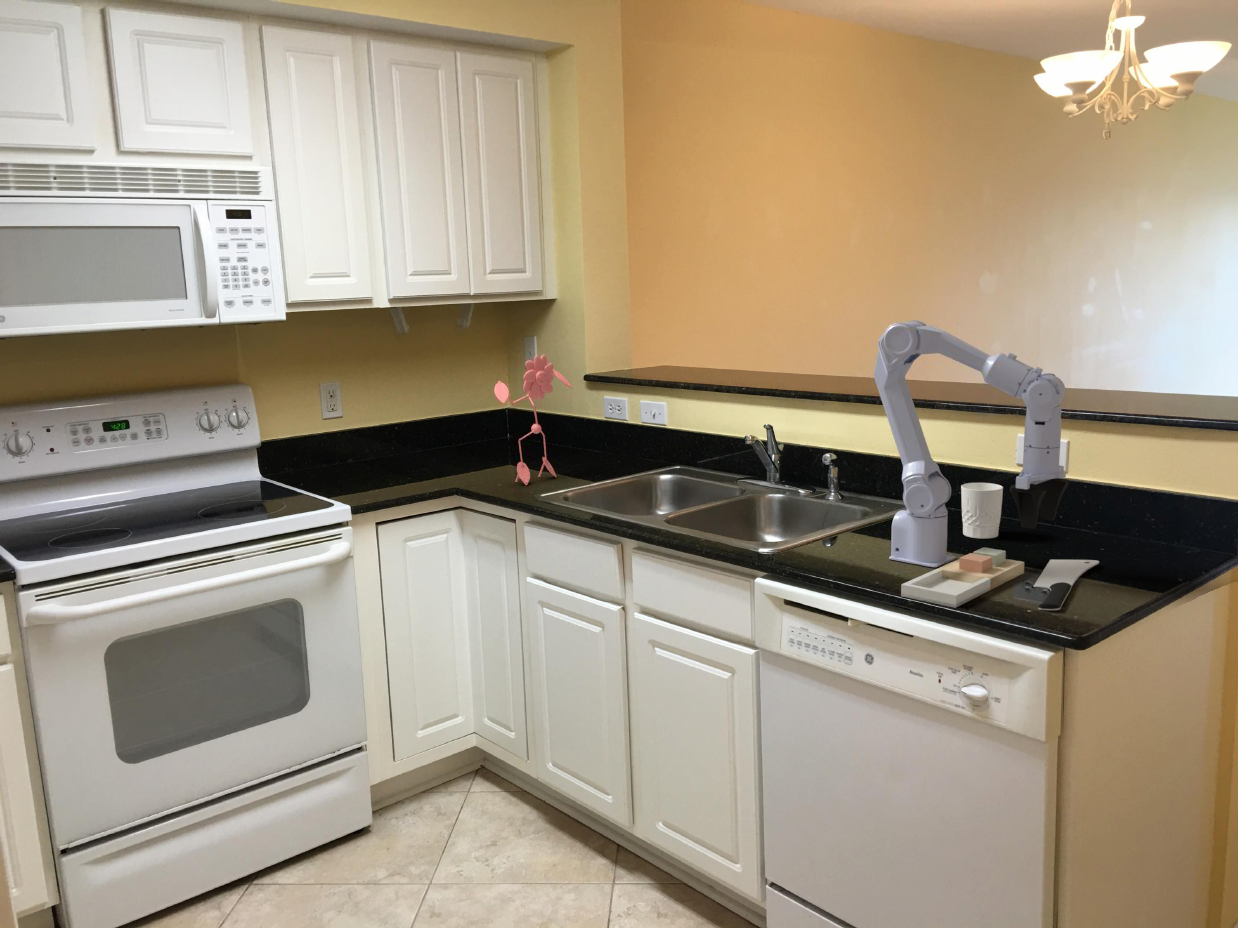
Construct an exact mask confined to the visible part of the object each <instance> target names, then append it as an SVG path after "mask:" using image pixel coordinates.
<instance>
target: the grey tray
mask: <svg viewBox="0 0 1238 928" xmlns="http://www.w3.org/2000/svg"><path fill="white" fill-rule="evenodd" d="M942 577H943V570H942V569H938V568H936V569H933V570H931V571H929V572H926V573H924V574H922V575H919V576H918V577H915V578H913V579H910V580H909V581H906V582H904V583H901V587H900V591H901V593H900V597H904V598H908V599H913V600H917V601H922V602H926V603H932V604H935V605H936V604H937V605H941V606H944V607H951V608H955V609H956V608H957V607H960V606H961V605H964V604H965V603H968V602H970V601H972V600H974V599H976V598H978V597H979V596H982V595H984V594H986V593H987V592H990V591H991V590H990V580H991V579H990V578H983V579H981V580H979V581H976V582H974V583H972V584H970V583H965V582H960V581H955V580H950V579H944V578H942Z"/></svg>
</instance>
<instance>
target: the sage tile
mask: <svg viewBox="0 0 1238 928" xmlns="http://www.w3.org/2000/svg"><path fill="white" fill-rule="evenodd" d="M972 553H973V554H979V555H985V556H990V557H993V563H992V567H996V566H998V565H1000V564H1002V563H1004V562H1005V559H1006V557H1007V554H1006V553H1007V552H1006V550H1002V549H995V548H992V547H991V548H990V547H981V548H979V549H977V550H975V551H973V552H972Z"/></svg>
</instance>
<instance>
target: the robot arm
mask: <svg viewBox="0 0 1238 928" xmlns="http://www.w3.org/2000/svg"><path fill="white" fill-rule="evenodd" d="M877 347H878V349H877V350H878V351H877V356H876V360H875V366H874V369H873V379H874V381H875V385H876V387H877V390H878V394H879V398H880V401H881V402H882V406H883V409H884V412H885V414H886V418H887V422H888V423H889V426H890V430H891V432H892V437H893V439H894V443H895V445H896V446H895V447H896V449H897V452H898V454H899V455H898V456H899V458H900V460H901V464H902V474H901V482H902V484H903V493H902V501H903V505H904V506H905V508H906V510H905V509H901V510H899V511H897V512H895V514H894V516H893V519H892V523H891V541H890V542H891V543H890V545H891V546H890V548H891V549H890V550H891V551H890V552H891V553H890V556H889V558H888V559H889V560H892V561H897V562H903V563H907V564H913V565H918V566H924V567H929V568H930V567H931V568H938V567H941V566H942V565H943V566H944V565H946V564H948V563H950V562H953V561H955V560H957V559H956V558H957V557H956V555H951V554H947V548H948V512H949V511H948V509H947V507H946V503H947V502H948V501H949V500H950V498H951V495H952V487H951V484H950V482H949V480H948V479H947V478H946V477H945V476H944V475H943V474H942V472H941V470H940V467H939V466H940V465H938V463H937V462H935V460H934V459H933V457H932V455H931V452H930V449H929V446H928V444H927V441H926V438H925V437H926V436H925V434H924V431H923V428H922V425H921V422H920V419H919V416H918V414H917V409H916V407H915V403H914V401H913V398H912V395H911V392H910V388H909V385H908V383H907V379H906V375H907V373H908V371H909V370H910V369H911V367H912V366H913V364H914V361H915V362H916V360H917V359H918V358H919V357H920V356H922V355H932V354H934V355H935V354H940V355H941V356H944V357H946V358H949V359H951V360H954V361H955V362H958V363H959V364H963V365H964V366H967V367H968V368H971V369H974V370H976V371H978V372H980V373H981V375H982V377H983V381H984V383H986V384H987V385H989V386H992V387H993V388H996V389H998V390H999V391H1002V392H1004V393H1005V394H1008V395H1010V396H1011V397H1014V398H1016V399H1017V400H1019V399H1022V401H1023V403H1024V405H1025V406H1026V413H1025V419H1024V437H1023V438H1024V439H1023V454H1022V455H1023V458H1022V470H1021V471H1020V473H1019V475H1017V476H1015V477H1016V478H1015V484H1012V485H1010V486H1009V493H1010V494H1011V496H1012V497H1013V499H1014V502H1015V505H1016V507H1017V512H1018V516H1019V519H1020V526H1021V527H1022V528H1026V529H1032V530H1033V529H1036V527H1037V525H1038V519H1039V516H1040V519H1041V520H1046V521H1051V522H1052V521H1054V520H1055V519H1056V515H1057V512H1058V509H1059V505H1060V502H1061V499H1062V497H1063V495H1064V493H1065V491H1066V490H1067V488H1068V487H1069V485H1070V480H1069V479H1066V476H1067V474H1066V472H1064V470H1065V466H1064V465H1060V455H1061V438H1062V437H1061V436H1062V404H1061V402H1062V401H1063V399H1064V398H1065V395H1066V386H1065V383H1064V381H1063V380H1062V379H1061V378H1059V377H1058V376H1056V375H1055V374H1054V373H1051V372H1047V373H1046V372H1045V373H1043V368H1042V367H1039V366H1037V367H1035V368H1034V367H1033V366H1030V365H1029V364H1026V363H1024V362H1022V361H1020V360H1018V359H1017V357H1018V355H1016V354H1015V353H1012V352H1009V353H1008V354H1005V353H1003V352H1000V353H997V354H994V355H990V354H988V353H986V352H985V351H983V350H981V349H979V348H978V347H976V346H974V345H972V344H970V343H968V342H966V341H964V340H963V339H960V338H958V337H956V336H955V335H953V334H950V333H949V332H948V331H946V330H943V329H941V328H938V327H936V326H933V325H931V324H929V325H927V324H926V323H924V322H923V321H921V320H909V321H906V322H902V321H901V322H895V323H892V324H890V325H889V326H888V327H887V328H886V329H885V330H884V332H883V334H882V335H881V336H880V338H879V339H878V341H877Z"/></svg>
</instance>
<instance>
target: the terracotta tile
mask: <svg viewBox="0 0 1238 928" xmlns="http://www.w3.org/2000/svg"><path fill="white" fill-rule="evenodd" d="M958 559H959V569H961V570H966V571H972V572H977V573H983V572H985V571H987V570H990V569H992V563H993V557H990V556H985V555H979V554H973V552H972V553H971V552H969V553H968V554H965V555H962V556H961V557H959V558H958Z"/></svg>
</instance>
